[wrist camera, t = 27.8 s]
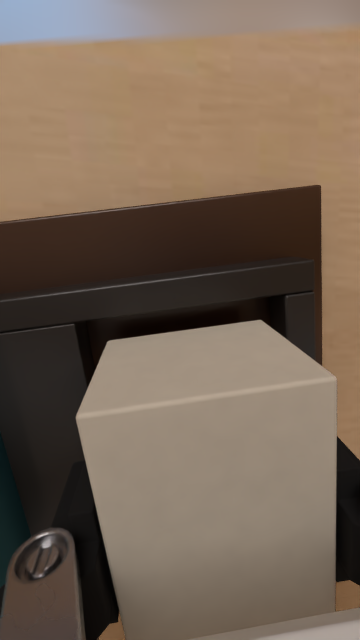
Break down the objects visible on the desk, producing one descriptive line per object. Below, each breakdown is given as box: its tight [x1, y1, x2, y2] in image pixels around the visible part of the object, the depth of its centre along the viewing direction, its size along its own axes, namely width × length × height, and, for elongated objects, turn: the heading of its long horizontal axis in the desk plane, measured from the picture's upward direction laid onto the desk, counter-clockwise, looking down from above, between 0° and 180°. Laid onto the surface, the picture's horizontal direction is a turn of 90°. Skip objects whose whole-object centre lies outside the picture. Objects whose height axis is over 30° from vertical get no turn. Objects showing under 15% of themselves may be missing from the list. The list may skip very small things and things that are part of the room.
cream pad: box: [76, 320, 337, 640], centre depth 9 cm, size 8×5×4 cm, turn 7°
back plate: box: [0, 185, 322, 536], centre depth 12 cm, size 16×20×3 cm
